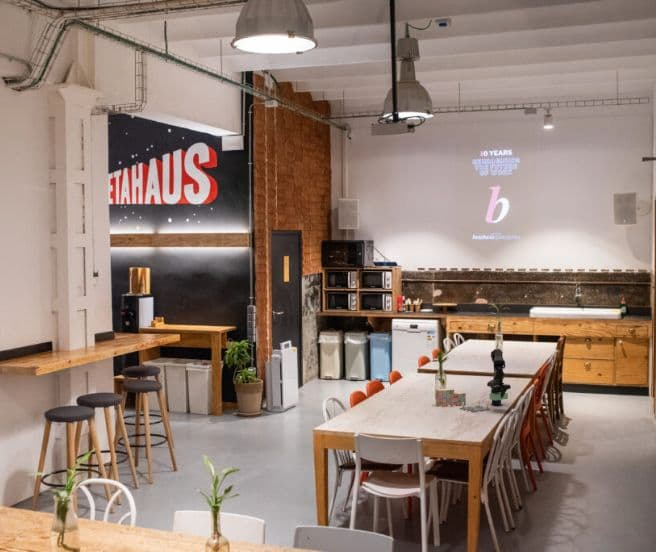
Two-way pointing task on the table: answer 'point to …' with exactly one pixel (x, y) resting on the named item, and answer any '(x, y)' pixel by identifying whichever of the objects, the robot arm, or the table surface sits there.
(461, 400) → the stack of blocks
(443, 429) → the table surface
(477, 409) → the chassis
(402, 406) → the table surface
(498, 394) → the board
